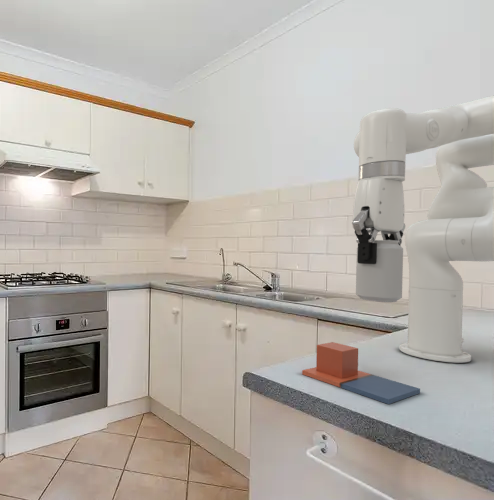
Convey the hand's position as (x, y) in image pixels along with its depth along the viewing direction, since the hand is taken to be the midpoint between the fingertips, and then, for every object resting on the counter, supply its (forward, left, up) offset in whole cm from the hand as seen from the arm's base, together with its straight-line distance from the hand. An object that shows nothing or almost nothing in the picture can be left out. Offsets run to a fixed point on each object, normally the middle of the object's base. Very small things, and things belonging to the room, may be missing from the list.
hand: (378, 263), depth 72 cm
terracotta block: (+10, -2, -21) cm, 23 cm away
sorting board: (+10, +2, -22) cm, 24 cm away
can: (0, 0, -8) cm, 8 cm away
